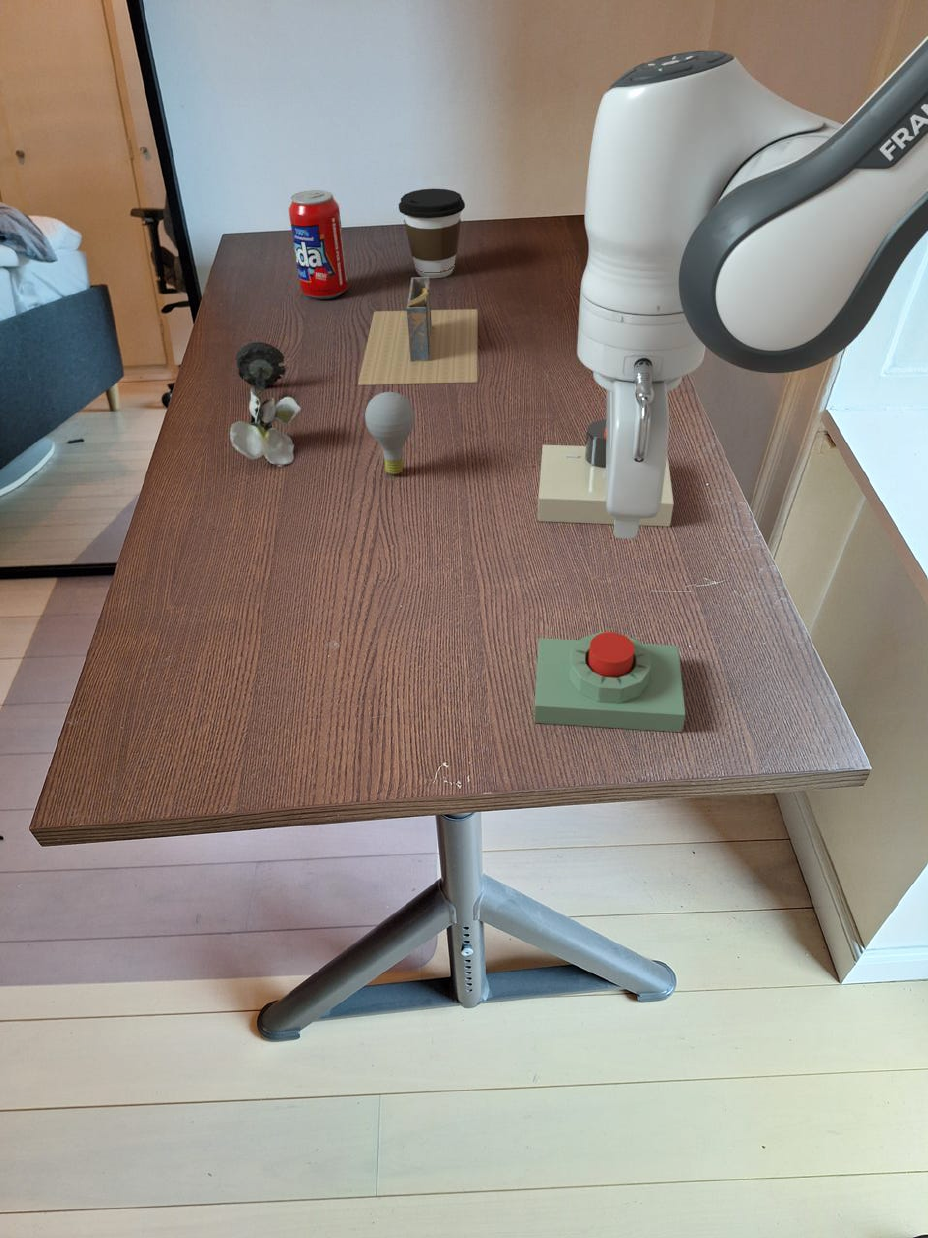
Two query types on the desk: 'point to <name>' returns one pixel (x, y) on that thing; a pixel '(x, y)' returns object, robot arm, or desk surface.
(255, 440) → the artificial flower
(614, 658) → the button
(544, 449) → the stove panel
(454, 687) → the desk surface
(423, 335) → the ruin model on sheet
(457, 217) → the coffee cup
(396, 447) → the light bulb
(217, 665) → the desk surface
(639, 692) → the box
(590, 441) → the burner knob
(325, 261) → the soda can
